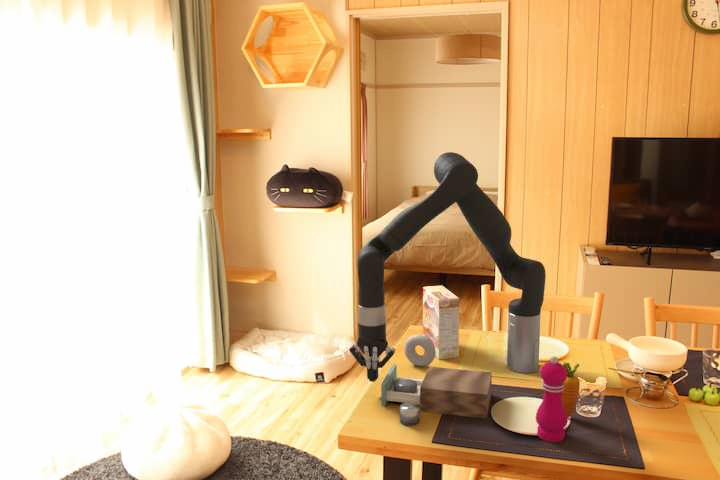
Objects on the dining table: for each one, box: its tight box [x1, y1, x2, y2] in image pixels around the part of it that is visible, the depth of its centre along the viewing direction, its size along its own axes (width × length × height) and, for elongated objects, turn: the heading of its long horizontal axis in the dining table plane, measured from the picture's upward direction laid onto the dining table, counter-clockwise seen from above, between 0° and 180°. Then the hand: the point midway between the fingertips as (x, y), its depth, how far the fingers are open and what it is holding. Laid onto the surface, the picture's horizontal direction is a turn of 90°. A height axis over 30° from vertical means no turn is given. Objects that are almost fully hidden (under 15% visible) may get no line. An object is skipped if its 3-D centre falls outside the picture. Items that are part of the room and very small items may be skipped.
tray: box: [380, 363, 424, 407], centre depth 174 cm, size 17×14×6 cm
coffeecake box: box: [422, 284, 460, 360], centre depth 207 cm, size 15×7×20 cm, turn 14°
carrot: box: [561, 361, 581, 418], centre depth 161 cm, size 5×5×15 cm
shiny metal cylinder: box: [399, 402, 420, 427], centre depth 162 cm, size 5×5×4 cm
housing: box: [419, 366, 493, 419], centre depth 172 cm, size 17×14×6 cm
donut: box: [403, 334, 436, 367], centre depth 196 cm, size 10×3×10 cm, turn 61°
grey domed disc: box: [393, 378, 417, 393], centre depth 176 cm, size 6×6×2 cm
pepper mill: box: [535, 356, 569, 443], centre depth 153 cm, size 7×7×20 cm
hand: (372, 380), depth 178 cm, fingers closed
